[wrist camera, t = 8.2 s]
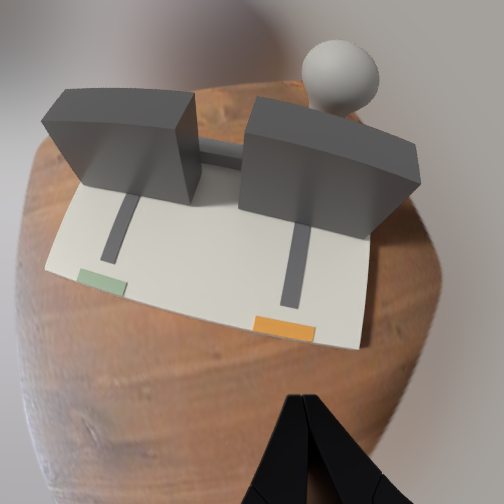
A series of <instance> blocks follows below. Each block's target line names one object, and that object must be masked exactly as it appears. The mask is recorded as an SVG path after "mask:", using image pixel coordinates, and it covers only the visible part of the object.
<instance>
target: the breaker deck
mask: <svg viewBox="0 0 504 504" xmlns="http://www.w3.org/2000/svg"><path fill="white" fill-rule="evenodd" d="M198 138H199V148H200V157H201V167H202V174H201V177H200V180H199V182H198V185H197V188H196V191H195V194H194V196H193V199H192V202H191V205H190V206H189V205H185V204H180V203H175V202H170V201H165V200H160V199H155V198H150V197H145V196H140V195H134V194H129V193H124V192H118V191H113V190H108V189H102V188H96V187H91V186H85V185H83V184H82V182H81V183H80V184H79V187H78V189H77V191H76V193H75V195H74V197H73V199H72V201H71V203H70V205H69V208H68V210H67V212H66V214H65V217H64V219H63V221H62V224H61V226H60V228H59V231H58V233H57V236H56V238H55V241H54V244H53V246H52V249H51V252H50V254H49V257H48V260H47V263H46V266H45V269H44V270H46V271H48V272H50V273H51V274H53V275H56V276H58V277H61V278H64V279H66V280H69V281H72V282H75V283H78V284H80V285H83V286H86V287H89V288H92V289H95V290H98V291H101V292H104V293H107V294H110V295H113V296H116V297H119V298H123V299H126V300H129V301H132V302H136V303H139V304H142V305H146V306H149V307H153V308H156V309H160V310H163V311H167V312H170V313H174V314H178V315H181V316H185V317H189V318H193V319H197V320H201V321H205V322H209V323H213V324H217V325H221V326H225V327H230V328H234V329H238V330H243V331H247V332H252V333H257V334H261V335H266V336H271V337H276V338H281V339H287V340H292V341H297V342H303V343H309V344H314V345H320V346H326V347H333V348H339V349H346V350H359V346H360V339H361V332H362V325H363V317H364V309H365V300H366V290H367V279H368V267H369V251H370V234H369V235H368V236H367V237H366V238H365V239H364V240H363V239H360V238H356V237H352V236H348V235H344V234H341V233H337V232H333V231H329V230H325V229H321V228H317V227H313V226H309V225H305V224H301V223H297V222H293V221H288V220H284V219H280V218H276V217H271V216H267V215H263V214H258V213H254V212H250V211H245V210H241V209H238V202H239V190H240V179H241V167H242V156H243V145H241V144H236V143H231V142H226V141H220V140H214V139H209V138H202V137H198Z"/></svg>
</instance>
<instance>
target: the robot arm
mask: <svg viewBox="0 0 504 504" xmlns="http://www.w3.org/2000/svg"><path fill="white" fill-rule="evenodd" d="M241 504H413V503H412V502H411V501H410V500H409V499H408V498H406V497H405V496H404V495H403V494H402V493H401V492H400V491H399V490H398V489H397V488H396V487H395V486H394V485H393V484H392V483H391V482H390V481H389V479H388V478H387V477H386V476H385V475H384V474H382V472H381V471H380V469H379V468H378V467H377V466H376V465H375V464H374V463H373V461H372V460H371V459H370V458H369V457H368V456H367V454H366V453H365V452H364V451H363V450H362V449H361V447H360V446H359V445H358V444H357V443H356V442H355V440H354V439H353V438H352V437H351V436H350V434H349V433H348V432H347V431H346V430H345V429H344V427H343V426H342V425H341V424H340V423H339V421H338V420H337V419H336V418H335V417H334V415H333V414H332V413H331V412H330V410H329V409H328V408H327V407H326V406H325V404H324V403H323V402H322V401H321V399H320V398H319V397H318V396H317V395H316V394H303V395H302V396H301V395H300V394H288V395H287V396H286V399H285V401H284V404H283V407H282V409H281V412H280V415H279V417H278V420H277V422H276V425H275V427H274V430H273V432H272V435H271V437H270V440H269V442H268V445H267V447H266V450H265V452H264V454H263V457H262V459H261V461H260V464H259V466H258V468H257V470H256V473H255V475H254V477H253V479H252V482H251V484H250V486H249V488H248V490H247V492H246V494H245V496H244V498H243V500H242V502H241Z"/></svg>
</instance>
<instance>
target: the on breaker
mask: <svg viewBox="0 0 504 504" xmlns="http://www.w3.org/2000/svg"><path fill="white" fill-rule="evenodd" d="M41 122H42V123H43V125H44V127H45V128H46V130H47V132H48V133H49V135H50V136H51V138H52V140H53V141H54V143H55V144H56V146H57V147H58V149H59V150H60V152H61V153H62V155H63V156H64V158H65V159H66V161H67V162H68V164H69V165H70V167H71V168H72V170H73V171H74V172H75V174H76V175H77V177H78V178H79V180H80V181H81V182H82V184H83V185H85V186H91V187H96V188H102V189H108V190H113V191H118V192H124V193H129V194H134V195H140V196H145V197H150V198H155V199H160V200H165V201H170V202H175V203H180V204H185V205H189V206H190V205H191V202H192V199H193V196H194V194H195V191H196V188H197V185H198V182H199V180H200V177H201V174H202V167H201V157H200V148H199V138H198V127H197V116H196V105H195V93H191V92H181V91H171V90H157V89H138V88H137V89H136V88H85V89H66V90H64V92H63V93H62V94H61V95H60V97H59V98H58V99H57V100H56V102H55V103H54V104H53V106H52V107H51V108H50V109H49V111H48V112H47V113H46V115H45V116H44V118H43V119H42V120H41Z"/></svg>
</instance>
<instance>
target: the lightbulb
mask: <svg viewBox="0 0 504 504" xmlns="http://www.w3.org/2000/svg"><path fill="white" fill-rule="evenodd" d="M302 79H303V82H304V86H305V89H306V91H307V94H308V96H309V108H311V109H315V110H318V111H322V112H325V113H329V114H332V115H336V116H339V117H342V118H346V117H347V116H348V115H349V114H350V113H353V112H355V111H357V110H359V109H360V108H362V107H364V106H366V105H367V104H368V103H369V102H370V101H371V100H372V99H373V98H374V96H375V95H376V93H377V90H378V86H379V72H378V68H377V66H376V64H375V62H374V60H373V58H372V57H371V56H370V55H369V54H368V52H366V51H365V50H364V49H363V48H361V47H360V46H358V45H356V44H354V43H352V42H349V41H344V40H330V41H326V42H323V43H320V44H319V45H317V46H316V47H314V48H313V49H312V50H311V51H310V52H309V53H308V55H307V57H306V58H305V60H304V62H303V66H302Z"/></svg>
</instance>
